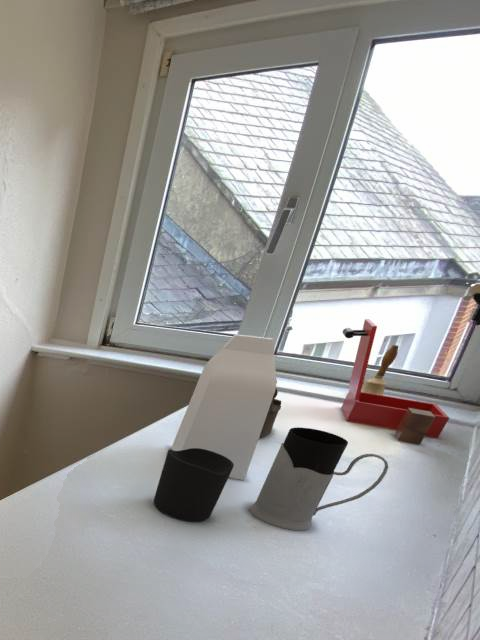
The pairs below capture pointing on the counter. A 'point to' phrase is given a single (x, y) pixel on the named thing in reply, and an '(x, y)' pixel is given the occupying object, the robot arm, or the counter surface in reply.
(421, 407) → the red shallow rectangular box
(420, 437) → the block
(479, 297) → the robot arm
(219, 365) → the milk
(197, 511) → the pen holder
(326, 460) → the glass holder
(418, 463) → the counter surface
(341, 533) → the counter surface
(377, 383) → the hand bell
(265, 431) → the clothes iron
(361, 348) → the lid
